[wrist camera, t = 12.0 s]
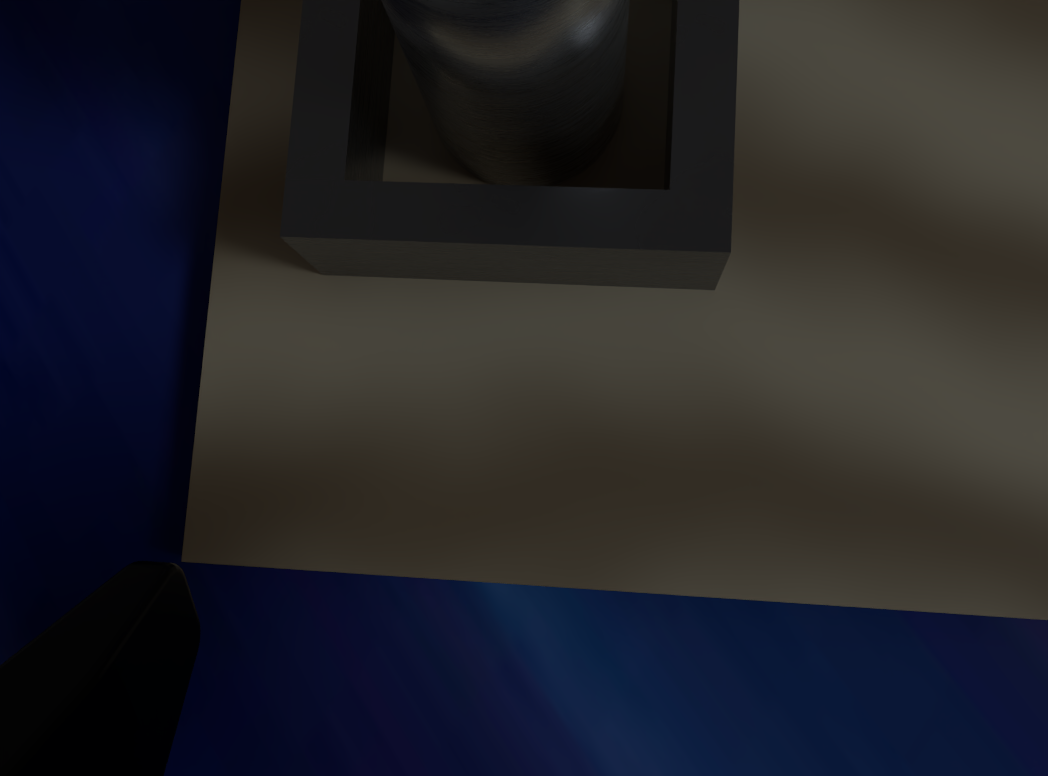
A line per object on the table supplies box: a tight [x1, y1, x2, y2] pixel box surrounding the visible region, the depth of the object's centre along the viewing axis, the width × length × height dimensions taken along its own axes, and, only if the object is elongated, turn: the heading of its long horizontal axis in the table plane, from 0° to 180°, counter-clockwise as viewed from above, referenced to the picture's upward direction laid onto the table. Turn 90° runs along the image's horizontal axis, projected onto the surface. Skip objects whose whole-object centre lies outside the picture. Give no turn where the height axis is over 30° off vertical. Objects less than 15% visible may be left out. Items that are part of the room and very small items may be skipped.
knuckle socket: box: [280, 0, 739, 290], centre depth 21 cm, size 9×9×3 cm
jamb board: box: [181, 0, 1048, 620], centre depth 22 cm, size 16×26×1 cm, turn 87°
